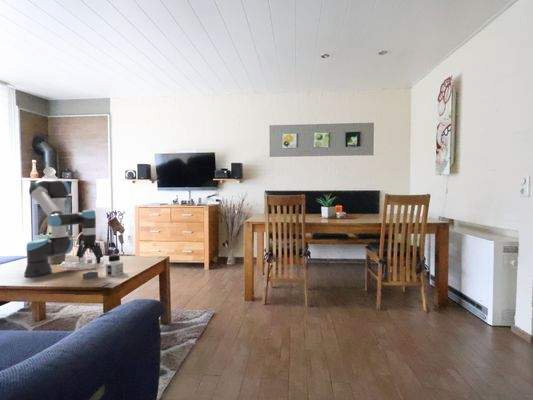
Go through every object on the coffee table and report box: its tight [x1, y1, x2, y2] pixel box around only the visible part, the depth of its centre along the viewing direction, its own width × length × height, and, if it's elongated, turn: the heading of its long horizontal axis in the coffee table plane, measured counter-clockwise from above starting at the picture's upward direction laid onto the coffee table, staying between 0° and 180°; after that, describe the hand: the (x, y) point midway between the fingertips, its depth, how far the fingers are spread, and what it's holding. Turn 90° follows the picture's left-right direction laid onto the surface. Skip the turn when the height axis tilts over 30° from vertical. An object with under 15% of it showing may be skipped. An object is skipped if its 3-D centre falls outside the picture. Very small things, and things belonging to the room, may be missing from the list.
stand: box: [82, 271, 99, 280], centre depth 197 cm, size 6×6×3 cm
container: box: [105, 254, 124, 277], centre depth 205 cm, size 8×8×13 cm
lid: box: [75, 258, 104, 269], centre depth 197 cm, size 11×11×4 cm
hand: (89, 267), depth 197 cm, fingers closed on lid, 11 cm apart
